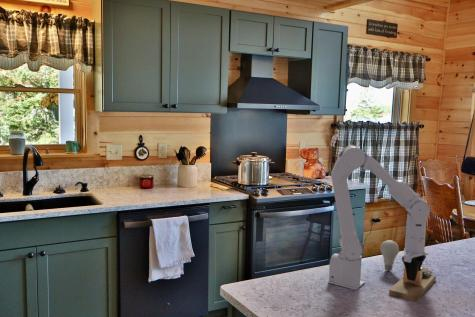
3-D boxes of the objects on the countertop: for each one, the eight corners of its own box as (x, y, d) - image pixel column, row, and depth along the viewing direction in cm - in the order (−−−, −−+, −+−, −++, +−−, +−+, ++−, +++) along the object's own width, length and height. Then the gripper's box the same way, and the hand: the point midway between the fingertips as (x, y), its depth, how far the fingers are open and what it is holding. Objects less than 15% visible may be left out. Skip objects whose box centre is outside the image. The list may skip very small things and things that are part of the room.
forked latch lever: (402, 282, 141) (403, 267, 140) (416, 269, 153) (417, 255, 153) (419, 286, 138) (420, 271, 137) (432, 272, 150) (433, 258, 150)
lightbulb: (401, 273, 154) (403, 242, 153) (387, 275, 152) (389, 243, 151) (389, 267, 160) (391, 237, 159) (375, 269, 157) (377, 238, 156)
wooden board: (388, 294, 136) (389, 289, 136) (410, 274, 153) (410, 270, 153) (416, 301, 131) (416, 296, 131) (435, 280, 148) (435, 275, 148)
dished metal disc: (413, 274, 148) (413, 268, 148) (416, 271, 152) (417, 265, 151) (425, 277, 146) (426, 271, 146) (429, 274, 149) (429, 268, 149)
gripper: (422, 244, 131) (419, 288, 132) (435, 233, 142) (432, 275, 144) (398, 239, 135) (395, 282, 137) (412, 229, 147) (409, 270, 148)
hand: (412, 278), depth 140 cm, fingers closed on forked latch lever, 2 cm apart
